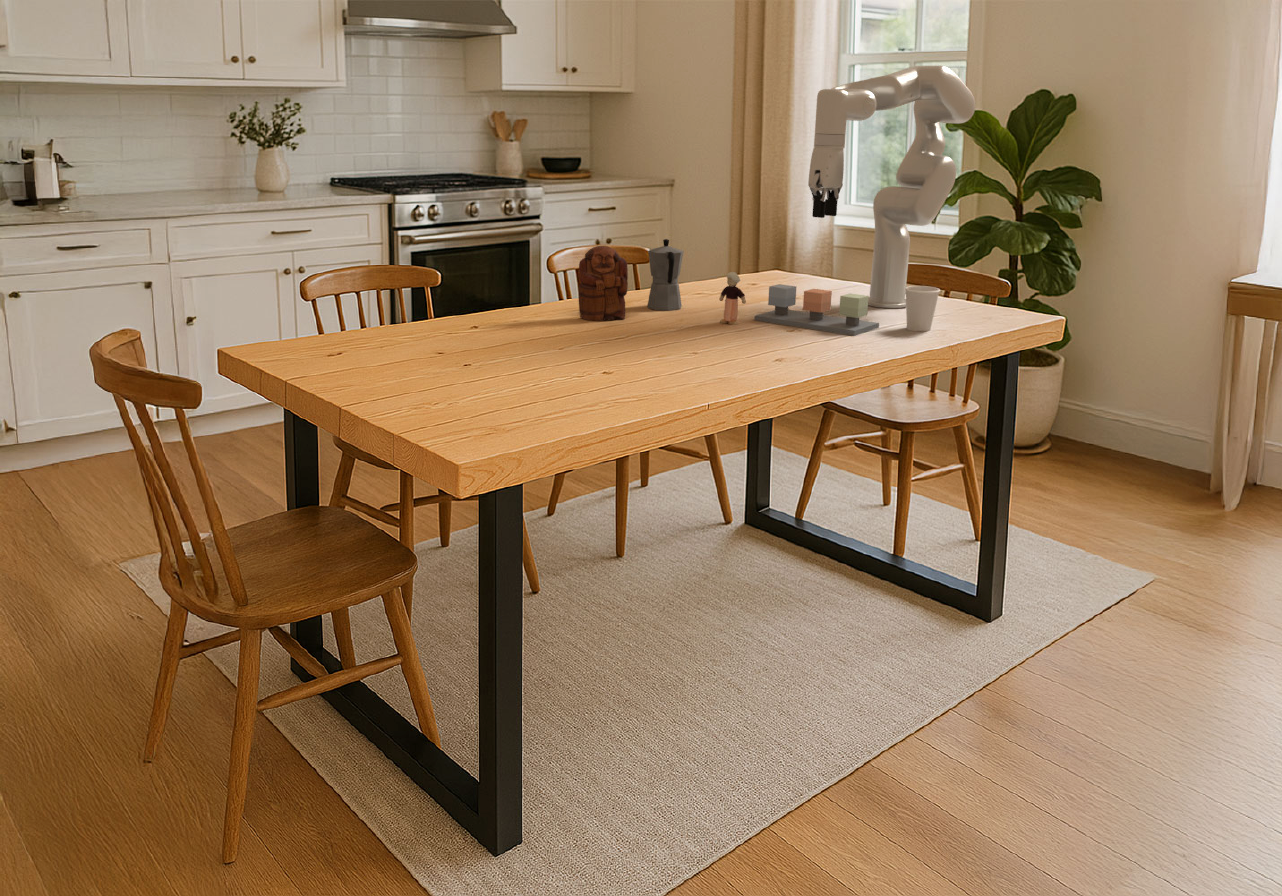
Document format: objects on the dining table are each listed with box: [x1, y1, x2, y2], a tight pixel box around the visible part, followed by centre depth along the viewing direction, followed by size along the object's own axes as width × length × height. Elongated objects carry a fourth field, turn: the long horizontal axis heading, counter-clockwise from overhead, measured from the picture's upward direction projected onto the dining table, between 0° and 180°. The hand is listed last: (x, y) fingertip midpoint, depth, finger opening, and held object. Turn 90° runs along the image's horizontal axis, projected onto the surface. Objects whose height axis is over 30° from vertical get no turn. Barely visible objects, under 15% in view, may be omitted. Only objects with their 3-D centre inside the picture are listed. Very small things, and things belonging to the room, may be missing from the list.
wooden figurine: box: [578, 245, 629, 322], centre depth 269 cm, size 12×6×18 cm, turn 107°
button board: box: [753, 306, 880, 336], centre depth 270 cm, size 13×28×3 cm, turn 52°
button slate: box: [767, 283, 797, 308], centre depth 275 cm, size 5×5×5 cm
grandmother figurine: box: [719, 271, 747, 325], centre depth 268 cm, size 8×4×13 cm, turn 62°
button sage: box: [838, 293, 870, 318], centre depth 263 cm, size 5×5×5 cm
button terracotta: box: [802, 288, 833, 313], centre depth 269 cm, size 5×5×5 cm
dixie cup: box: [905, 285, 941, 332], centre depth 266 cm, size 8×8×10 cm
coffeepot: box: [646, 238, 685, 312], centre depth 284 cm, size 15×9×18 cm, turn 9°
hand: (824, 215), depth 274 cm, fingers open, 5 cm apart
